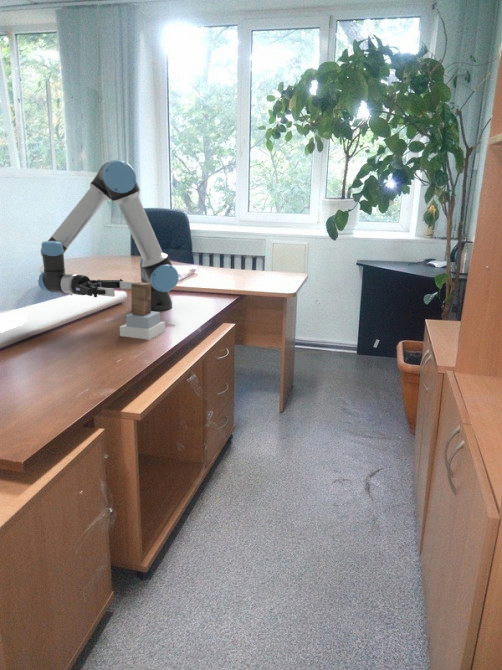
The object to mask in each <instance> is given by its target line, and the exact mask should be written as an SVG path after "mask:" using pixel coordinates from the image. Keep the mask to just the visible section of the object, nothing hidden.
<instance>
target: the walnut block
mask: <svg viewBox="0 0 502 670" xmlns="http://www.w3.org/2000/svg"><path fill="white" fill-rule="evenodd" d="M130 290H131V293H130V294H131V313H132V314H137V315H143V316H144V315H147V314H149V313H151V283H143V282H141V281H137V282H136V283H133V284H131V289H130Z"/></svg>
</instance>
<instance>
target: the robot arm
mask: <svg viewBox="0 0 502 670" xmlns="http://www.w3.org/2000/svg"><path fill="white" fill-rule="evenodd" d="M140 192H141V190H140V187H139V184H138V182H137V175H136V172H135V170H134V168H133V167H132V166H131V164H129V163H128V162H127V161H125V160H121V159H114V160H111V161H107V162H105V163H104V164H103V165H101V167H100V168H99V170H98V172H97V173H96V175H95V177H94V178H93V179H92V181H91V182H90V183H89V189H88V190H87V191H86V193H85V194H84V195H83V196H82V198H81V199H80V200H79V201H78V202H77V203H76V205H75V206H74V207H73V209H72V210H71V212H70V213H69V214H68V215H67V216H66V218H65V219H64V220H63V221H62V222H61V224H60V225H59V227H57V229H56V230H55V231H54V232H53V234H52V235H51V236H50V238H49V239H48V240H47V241H43V242H41V249H40V254H41V257H42V263H43V272H41V273H40V274H39V276H38V280H37V282H38V286H39V288H40V290H41V291H45V292H50V293H58V294H69V295H70V296H73V295H78V296H88V297H92V296H93V298H97V297H98V296H104V297H113V298H114V297H115V296H116V295H115V292H116V291H115V289H118V288H119V289H121V290H122V289H123V290H131V284H133V283H137V282H136V281H124V280H123V279H122V278H119V279H92V280H91V279H90V277H89V276H88V275H83V274H73V273H66V268H65V255H64V254H65V252H66V251H67V250H68V248H69V247H70V246H71V245H72V244H73V242H74V241H75V240H76V239H77V237H78V236H79V235H80V234H81V232H82V231H83V230H84V228H86V226H87V225H88V224H89V223H90V222H91V220H92V219H93V217H94V216H95V215H96V214H97V213H98V211H99V210H100V209H101V207H102V206H103V205H104V204H105V203H106V202H107V201H111V202H113V203H115V204H117V205H118V207H119V210H120V212H121V214H122V217H123V219H124V221H125V224H126V225H127V228H128V231H129V232H130V234H131V236H132V238H133V241H134V243H135V245H136V248H137V249H138V252H139V254H140V256H141V258H140V260H139V266H140V267H139V268H140V282H143V283H151V311H154V312H162V311H167V310H170V309H172V308H173V301H172V297H171V296H170V291H172V290H173V289H175V287H177V285H178V282H179V272H178V270H177V269H176V268H175V266H173V263H172V262H171V260H170V257H169V255H168V254H167V253H165V252H163V250H162V247H161V246H160V243H159V240H158V239H157V236H156V233H155V231H154V229H153V227H152V225H151V222H150V220H149V217H148V215H147V213H146V210H145V208H144V206H143V204H142V202H141V201H142V200H141V199H140V197H139V195H140Z"/></svg>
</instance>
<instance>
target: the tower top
mask: <svg viewBox="0 0 502 670" xmlns="http://www.w3.org/2000/svg"><path fill="white" fill-rule="evenodd" d="M160 321H161V311H151V313H149V314H147V315H144V316H143V315H137V314H132V312H130V313H127V315H125V324H126V326H129V327H138V328H147V329H149V328H151V327H153V326H155V325H156V324H158V323H160Z"/></svg>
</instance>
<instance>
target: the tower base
mask: <svg viewBox="0 0 502 670" xmlns="http://www.w3.org/2000/svg"><path fill="white" fill-rule="evenodd" d="M164 332H166V321H162V320H160V323H158V324H156V325H155V326H153V327H151V328H149V329H147V328H138V327H129V326H126V323H124V324H122V325H120V326H119V336H120V337H124V338H133V339H142V340H146V341H150V340H152V339H154V338H156V337H157V335H158V336H160V335H161V334H163V333H164ZM159 334H160V335H159ZM155 336H156V337H155ZM153 337H154V338H153Z"/></svg>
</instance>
